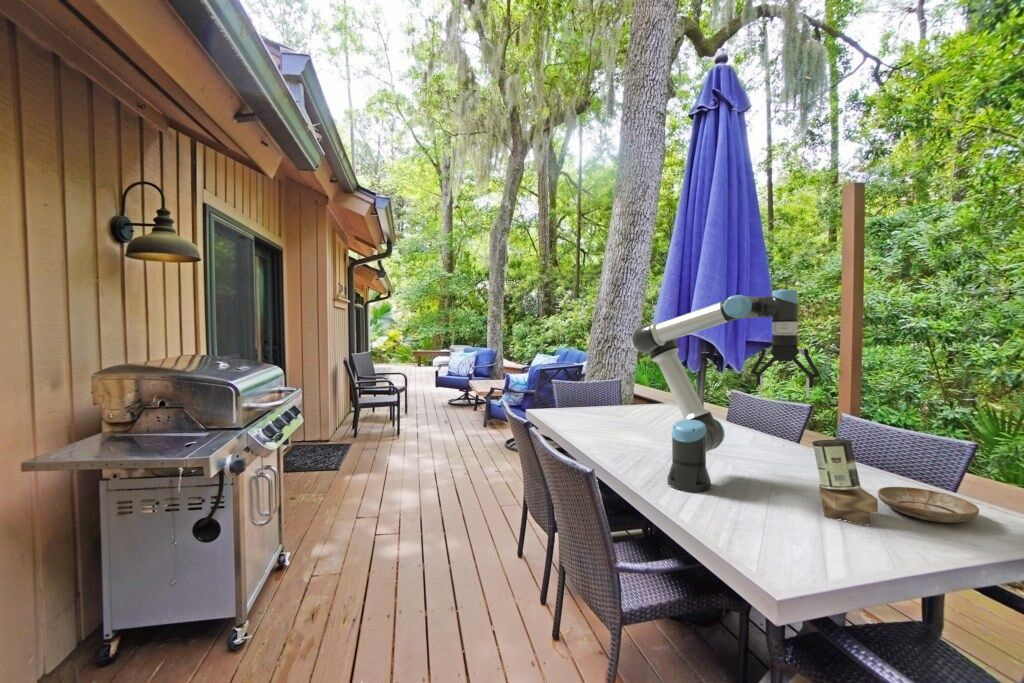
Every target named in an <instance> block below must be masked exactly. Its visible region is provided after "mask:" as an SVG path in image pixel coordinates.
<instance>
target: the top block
mask: <svg viewBox="0 0 1024 683" xmlns="http://www.w3.org/2000/svg"><path fill="white" fill-rule="evenodd" d="M819 497H820V498H821V500H822V499H823V500H825V501H826V502H827V503H828V504H829V505H830V506H832V507H833V508H834V509H835V510H847V511H861V512H870V513H875V514H876V513H878V512H879V510H878V509H879V500H878V498H877V497H875V496H874V495H873V494H871V493H870V492H868V491H866V490H865V489H863V488H862V487H860V488H858V489H851V490H833V489H826V488H822V487H821V483H819Z"/></svg>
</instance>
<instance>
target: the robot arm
mask: <svg viewBox="0 0 1024 683" xmlns="http://www.w3.org/2000/svg"><path fill="white" fill-rule="evenodd" d="M798 310H799V300H798V291H797V290H796V289H792V288H791V289H788V288H786V289H775V290H773V291H772V293H771V295H769V296H748V295H747V296H746V295H743V294H736V295H731V296H729V297H728V298H726V300H723V301H719V302H716V303H714V304H710V305H708V306H705V307H701V308H699V309H697V310H693V311H691V312H688V313H685V314H683V315H680V316H676V317H673V318H671V319H668V320H665V321H662V322H657V321H654V322H651V323H648V324H644V325H641V326H638V327H637V328H636V329H635V331H634V332H633V334H632V339H631V340H632V343H633V347H634V348H635V349H636V350H637V351H638V352H640V353H643V354H648V355H649V357H650V359H651V361H652V362H654V363H657V365H658V367H659V369H660V371H661V374H662V375H663V377H664V379H665V381H666V384H667V385H668V388H669V390H670V392H671V394H672V396H673V399H674V400H675V402H676V404H677V406H678V408H679V410H680V413H681V415H682V419H681V420H678V421H676V422H674V423H673V425H672V431H671V441H672V442H671V444H672V446H671V448H672V449H671V451H672V452H671V455H672V456H671V457H672V458H671V459H672V460H671V461H672V462H671V466H670V469H669V472H668V475H667V476H666V479H667V480H666V482H668V483H667V485H668V484H669V485H671V486H673V487H675V488H678V489H681V490H680V491H682V490H685V491H684V492H688V491H691V492H692V493H703V492H708V491H710V490H711V488H712V481H711V478H710V474H709V472H708V469H707V452H709V451H711V450H714V449H717V448H718V447H719V446H720V445H721V444H722V442H724V439H725V434H726V433H725V429H724V425H722V423H721V422H720V421H719V420H717V419H715V418H714V416H713V415H712V413H711V411H710V410H708V409H705V408H704V405H703V404H702V402H701V399H700V397H699V395H698V394H697V391H696V389H695V388H694V385H693V384H692V381H691V380H690V377H689V375H688V373H687V372H686V369H685V368H684V366H683V364H682V361H681V360H680V357H679V355H678V353H679V350H680V349H679V347H678V345H677V344H678V343H677V342H678V339H679V338H682V337H685V336H688V335H691V334H694V333H697V332H700V331H704V330H706V329H711V328H713V327H716V326H719V325H724V324H726V323H729V322H730V323H731V322H732V321H736V320H740V319H762V318H770V319H771V333H772V334H773V335H772V336H771V348H766V347H763V348H762V349H761V353H760V356H759V357H758V359H757V361H756V362H755V365H754V366H753V367H752V369H751V371H750V373H751V374H752V375H754V376H756V385H757V386H759V389H760V390H759V395H760V396H763V395H764V375H762V374H763V373H765V371H766V370H768V368H769V367H771V365H773V364H774V362H776V361H778V362H792V361H793V362H794V363H795V364H796V365H797V366H798V368H799V369H801V370H802V371H803V373H805V375H806V376H807V377H805V380H806V381H805V397H806V398H807V399H809V398H810V389H813V388H814V379H815V378H817V377H820V376H821V374H820V372H819V370H818V368H817V367H816V365H815V364H814V362H813V360H812V358H811V356H810V354H809V349H808V348H804V349H798V336H797V335H796V334H798V324H799V323H798ZM769 353H770V354H771V355H772V356H773V357H772V358H771V359H769V361H767V362H766V364H764V366H762V367H761V368H760V369H759V371H757V370H758V368H759V366H760V365H761V363H762V361H763V359H764V358H765V356H767V355H768V354H769ZM799 353H800V354H801V356H804V357H805V360H806V362H807V363H808V365H809V366H810V368H811V370H812V371H813V373H811V371H809V370H808V368H806V366H805V365H804V364H802V362H800V360H799V359H798V358H797V356H798V354H799ZM669 485H668V486H669ZM671 486H670V487H671ZM673 487H672V488H673ZM675 488H674V489H675ZM678 489H677V490H678ZM691 492H690V493H691Z"/></svg>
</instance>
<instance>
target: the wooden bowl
mask: <svg viewBox="0 0 1024 683" xmlns="http://www.w3.org/2000/svg"><path fill="white" fill-rule="evenodd" d="M877 497H878V498H879V499H880V501H881V502H882V503H884V504H885V505H886V506H888V507H889V508H891V509H892V510H895V511H897V512H899V513H901V514H903V515H906V516H908V517H909V516H910V517H912V518H915V519H919V520H924V521H929V522H935V523H944V524H945V523H947V524H950V523H951V524H952V523H962V522H963V523H964V522H967V521H970V520H973V519H975V518H976V517H977V516H978V515H979V513H980V508H979V507H978V506H977V505H976V504H975V503H973V502H971V501H969V500H966V499H964V498H961V497H958V496H956V495H952V494H949V493H944V492H940V491H935V490H931V489H924V488H920V487H919V488H917V487H910V486H885V487H881V488H879V489H878V491H877Z"/></svg>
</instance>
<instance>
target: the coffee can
mask: <svg viewBox="0 0 1024 683" xmlns="http://www.w3.org/2000/svg"><path fill="white" fill-rule="evenodd" d="M811 444H812V448H813V451H814V457H815V460H816V466H817V469H818V470H817V471H818V476H819V480H820V484H821V487H822V488H826V489H833V490H851V489H858V488H862V487H861V483H860V478H859V477H860V476H859V475H858V474H859V473H858V468H857V465H856V459H855V455H854V449H853V446H852V440H851V439H843V438H842V439H841V438H840V439H837V438H836V439H835V438H834V439H821V440H813V441H812V442H811Z"/></svg>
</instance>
